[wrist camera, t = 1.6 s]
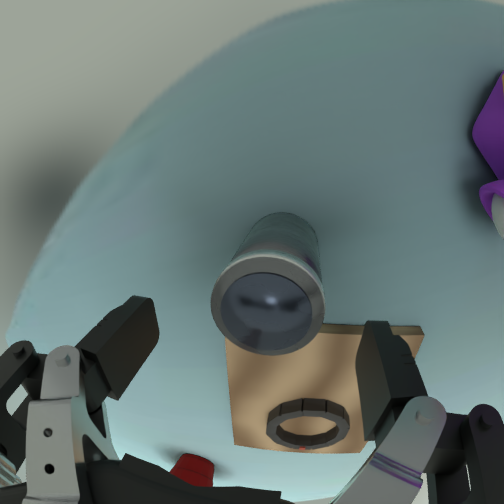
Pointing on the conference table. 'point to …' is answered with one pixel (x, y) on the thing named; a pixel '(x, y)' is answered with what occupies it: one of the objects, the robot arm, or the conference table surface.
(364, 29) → the conference table surface
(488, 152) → the toy camera
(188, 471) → the plastic cup
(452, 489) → the robot arm
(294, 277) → the lens
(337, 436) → the mount
